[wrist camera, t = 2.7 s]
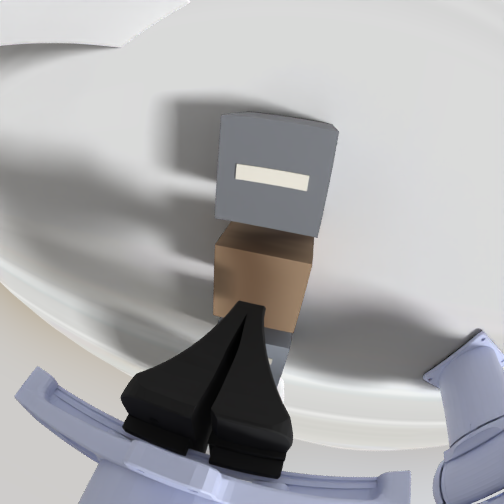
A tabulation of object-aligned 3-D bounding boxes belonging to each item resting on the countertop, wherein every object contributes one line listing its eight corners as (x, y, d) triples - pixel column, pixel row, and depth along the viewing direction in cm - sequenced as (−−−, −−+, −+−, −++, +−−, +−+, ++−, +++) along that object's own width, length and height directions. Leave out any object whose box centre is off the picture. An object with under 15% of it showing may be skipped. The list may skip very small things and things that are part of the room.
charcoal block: (332, 124, 15) (339, 131, 10) (318, 202, 17) (317, 238, 13) (245, 111, 15) (217, 114, 11) (238, 187, 18) (211, 218, 14)
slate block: (297, 300, 21) (289, 349, 17) (285, 341, 24) (276, 388, 20) (232, 286, 22) (211, 331, 18) (229, 329, 25) (211, 373, 20)
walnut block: (314, 223, 18) (312, 264, 14) (300, 284, 21) (293, 333, 16) (239, 209, 19) (215, 244, 14) (234, 270, 21) (213, 315, 17)
